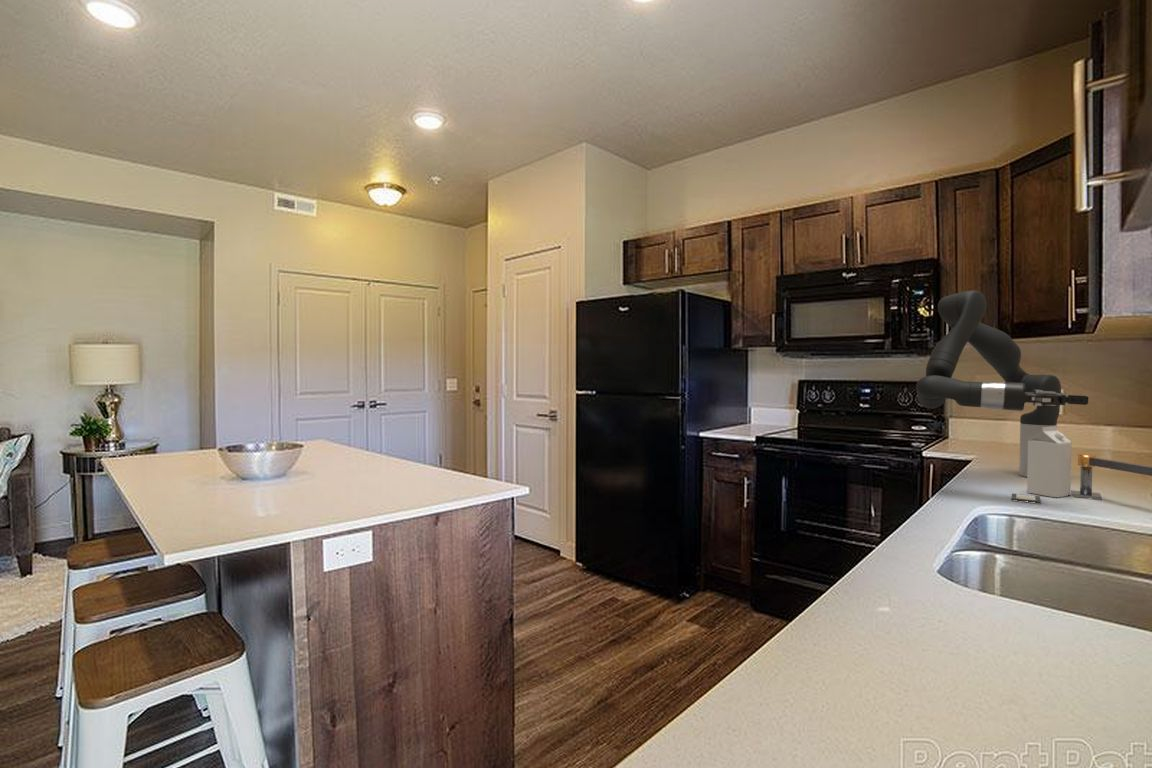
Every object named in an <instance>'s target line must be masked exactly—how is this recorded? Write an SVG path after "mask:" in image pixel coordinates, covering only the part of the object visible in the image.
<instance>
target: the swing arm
mask: <svg viewBox="0 0 1152 768" xmlns="http://www.w3.org/2000/svg"><path fill="white" fill-rule="evenodd" d="M1077 466H1080V467H1081V466H1088V467H1092V468H1093V467H1099V468H1105V469H1110V470H1115V471H1122V472H1127V473H1133V474H1139V475H1144V476H1149V477H1150V476H1151V477H1152V466H1150V465H1146V464H1145V465H1144V464H1137V463H1130V462H1124V461H1119V460H1112V459H1107V458H1100V457H1096V455H1093V454H1086V453H1085V454H1083V453H1081V454H1080V453H1079V454H1077Z"/></svg>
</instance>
